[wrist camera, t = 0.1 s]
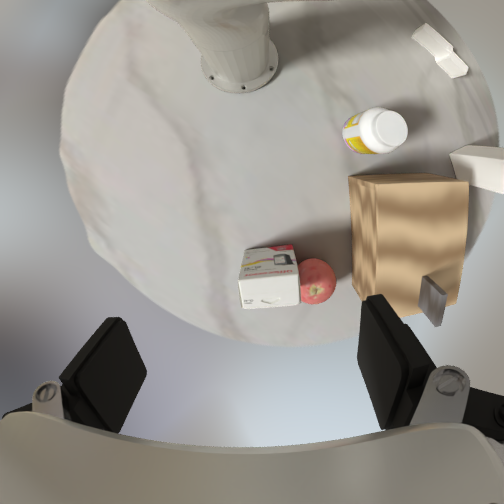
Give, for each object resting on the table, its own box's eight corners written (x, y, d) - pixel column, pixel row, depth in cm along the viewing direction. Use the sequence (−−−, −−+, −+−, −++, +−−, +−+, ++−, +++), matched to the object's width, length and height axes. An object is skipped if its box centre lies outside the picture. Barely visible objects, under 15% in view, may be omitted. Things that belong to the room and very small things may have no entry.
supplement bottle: (378, 155, 41) (414, 157, 29) (342, 152, 41) (369, 152, 29) (376, 117, 38) (412, 107, 26) (340, 114, 39) (367, 99, 27)
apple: (309, 297, 50) (316, 321, 42) (281, 273, 49) (283, 295, 41) (338, 269, 48) (350, 290, 40) (310, 243, 46) (318, 261, 39)
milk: (448, 153, 39) (531, 163, 18) (466, 144, 38) (546, 152, 17) (457, 182, 41) (537, 206, 20) (475, 172, 39) (552, 192, 19)
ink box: (293, 243, 47) (301, 271, 36) (295, 270, 48) (303, 304, 37) (242, 249, 48) (235, 278, 36) (247, 275, 49) (241, 310, 38)
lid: (374, 183, 31) (398, 191, 25) (465, 181, 29) (494, 188, 23) (372, 319, 37) (387, 347, 31) (453, 301, 36) (474, 322, 30)
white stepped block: (396, 26, 31) (409, 15, 26) (436, 26, 30) (450, 18, 24) (428, 94, 36) (444, 89, 31) (465, 89, 34) (481, 86, 29)
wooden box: (348, 176, 42) (374, 183, 31) (426, 173, 41) (465, 181, 29) (352, 284, 49) (372, 319, 38) (422, 273, 47) (453, 301, 36)
